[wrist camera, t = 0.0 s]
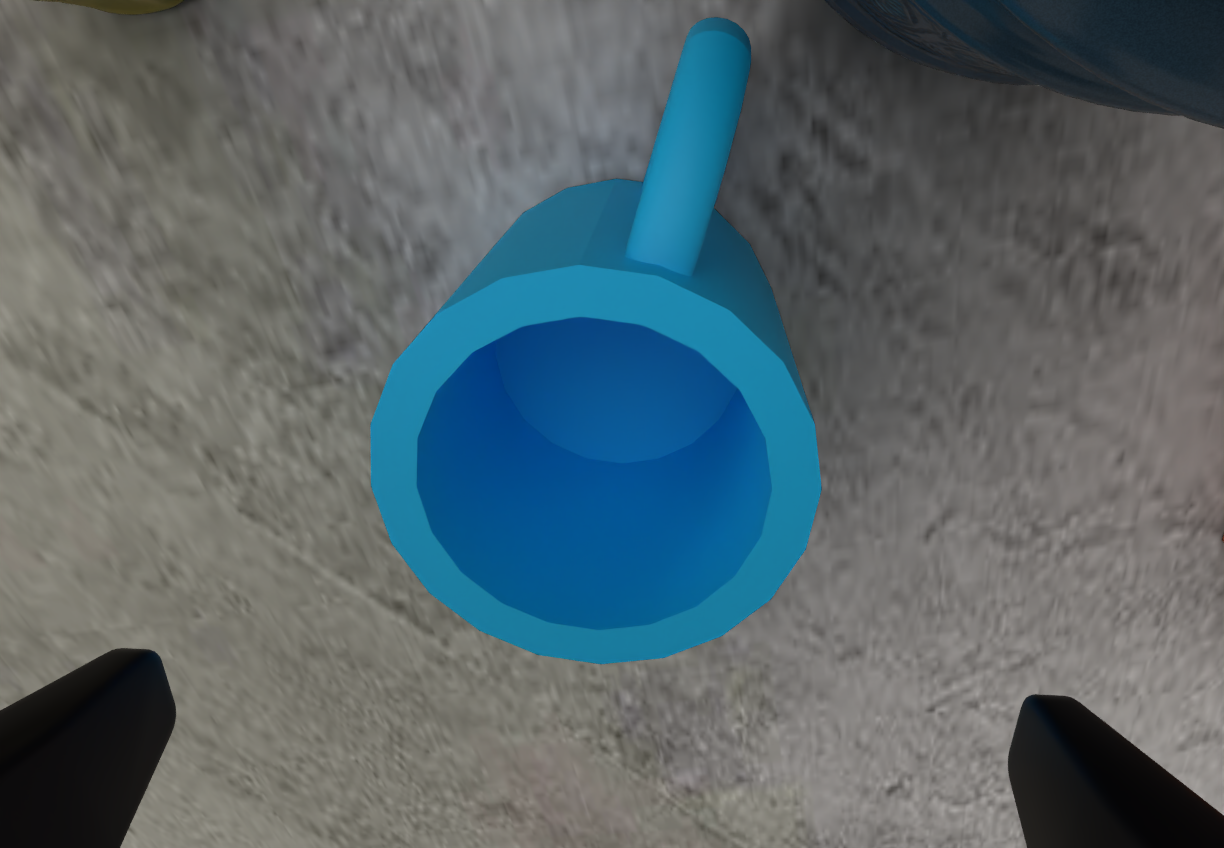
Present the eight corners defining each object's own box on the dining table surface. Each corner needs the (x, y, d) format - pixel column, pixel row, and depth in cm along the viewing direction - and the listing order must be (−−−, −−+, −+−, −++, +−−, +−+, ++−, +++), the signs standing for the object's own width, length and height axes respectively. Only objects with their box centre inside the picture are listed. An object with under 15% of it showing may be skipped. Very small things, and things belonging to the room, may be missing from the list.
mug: (717, 501, 24) (731, 708, 17) (446, 423, 24) (340, 600, 17) (888, 73, 19) (1014, 105, 12) (545, -36, 19) (455, -73, 11)
